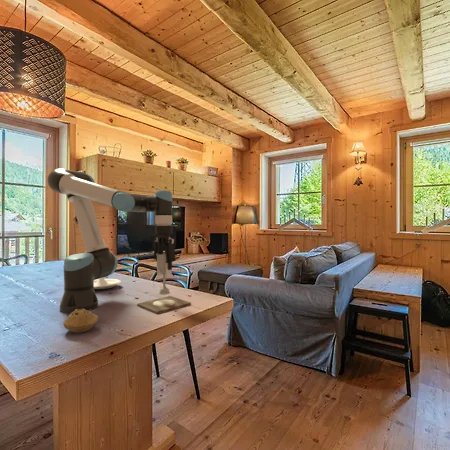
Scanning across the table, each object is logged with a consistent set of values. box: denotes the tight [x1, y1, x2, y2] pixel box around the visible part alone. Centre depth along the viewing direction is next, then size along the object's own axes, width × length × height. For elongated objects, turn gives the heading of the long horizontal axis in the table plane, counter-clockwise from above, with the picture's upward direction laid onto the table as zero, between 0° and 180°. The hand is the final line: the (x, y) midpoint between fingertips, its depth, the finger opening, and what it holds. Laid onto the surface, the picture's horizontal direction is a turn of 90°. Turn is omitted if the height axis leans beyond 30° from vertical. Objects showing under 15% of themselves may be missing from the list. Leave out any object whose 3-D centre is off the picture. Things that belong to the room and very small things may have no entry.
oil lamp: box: [63, 309, 99, 334], centre depth 103 cm, size 11×15×8 cm
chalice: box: [156, 252, 171, 295], centre depth 131 cm, size 7×7×18 cm
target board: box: [136, 295, 192, 315], centre depth 131 cm, size 18×16×1 cm
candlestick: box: [94, 239, 122, 291], centre depth 162 cm, size 21×25×28 cm
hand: (164, 275), depth 131 cm, fingers closed on chalice, 6 cm apart
